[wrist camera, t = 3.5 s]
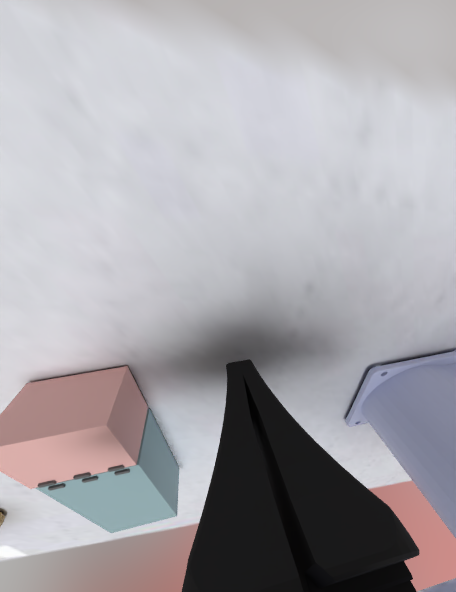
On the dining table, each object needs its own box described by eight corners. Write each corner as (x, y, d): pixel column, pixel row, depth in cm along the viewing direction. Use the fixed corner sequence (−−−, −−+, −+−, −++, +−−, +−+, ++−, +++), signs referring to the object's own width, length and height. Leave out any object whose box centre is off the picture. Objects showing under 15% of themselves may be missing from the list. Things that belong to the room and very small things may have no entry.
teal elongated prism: (149, 408, 13) (138, 467, 10) (179, 468, 18) (176, 518, 15) (68, 424, 12) (34, 490, 9) (123, 481, 17) (110, 535, 15)
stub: (127, 366, 10) (105, 427, 8) (147, 407, 12) (135, 467, 10) (26, 383, 10) (-35, 455, 7) (65, 423, 12) (29, 491, 9)
